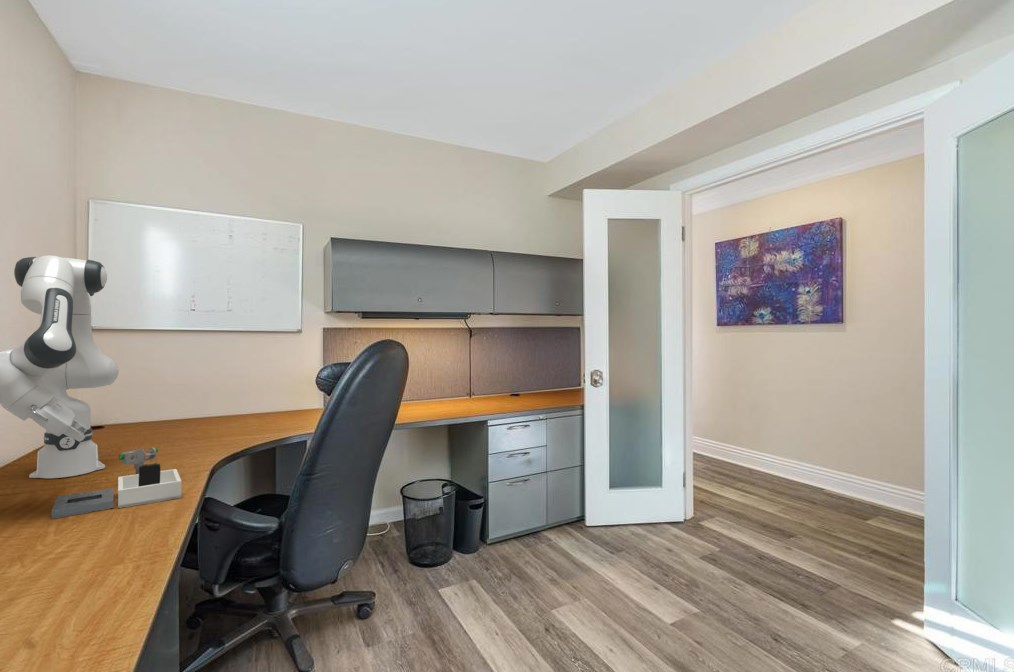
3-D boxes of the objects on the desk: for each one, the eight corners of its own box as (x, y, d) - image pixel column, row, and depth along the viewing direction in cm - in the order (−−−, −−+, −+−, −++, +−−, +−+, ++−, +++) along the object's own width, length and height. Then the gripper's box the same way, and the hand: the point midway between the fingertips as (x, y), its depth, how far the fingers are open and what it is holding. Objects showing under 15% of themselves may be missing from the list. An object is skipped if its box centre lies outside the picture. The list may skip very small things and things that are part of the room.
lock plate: (57, 503, 132) (57, 496, 132) (113, 494, 140) (113, 488, 140) (51, 519, 121) (51, 511, 121) (113, 508, 129) (113, 501, 129)
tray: (118, 493, 141) (118, 476, 141) (176, 484, 150) (176, 468, 150) (118, 508, 129) (118, 490, 129) (181, 497, 137) (181, 481, 137)
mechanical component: (159, 478, 156) (159, 447, 156) (122, 487, 147) (122, 454, 147) (153, 477, 157) (153, 446, 157) (117, 486, 148) (117, 453, 148)
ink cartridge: (159, 490, 142) (160, 462, 142) (159, 491, 140) (160, 464, 140) (138, 492, 139) (139, 464, 139) (138, 495, 137) (139, 466, 137)
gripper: (41, 399, 120) (93, 433, 126) (49, 389, 136) (95, 420, 142) (16, 419, 117) (70, 453, 124) (27, 407, 133) (75, 437, 139)
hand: (84, 435), depth 133 cm, fingers open, 8 cm apart
